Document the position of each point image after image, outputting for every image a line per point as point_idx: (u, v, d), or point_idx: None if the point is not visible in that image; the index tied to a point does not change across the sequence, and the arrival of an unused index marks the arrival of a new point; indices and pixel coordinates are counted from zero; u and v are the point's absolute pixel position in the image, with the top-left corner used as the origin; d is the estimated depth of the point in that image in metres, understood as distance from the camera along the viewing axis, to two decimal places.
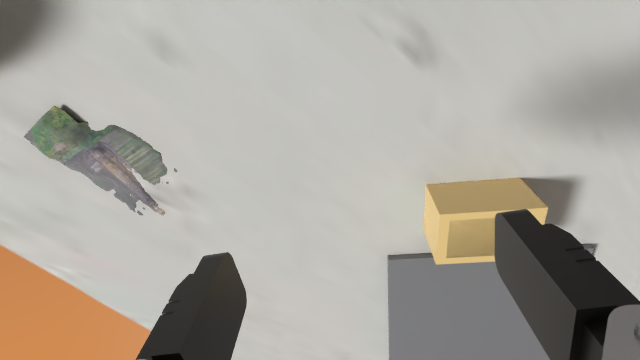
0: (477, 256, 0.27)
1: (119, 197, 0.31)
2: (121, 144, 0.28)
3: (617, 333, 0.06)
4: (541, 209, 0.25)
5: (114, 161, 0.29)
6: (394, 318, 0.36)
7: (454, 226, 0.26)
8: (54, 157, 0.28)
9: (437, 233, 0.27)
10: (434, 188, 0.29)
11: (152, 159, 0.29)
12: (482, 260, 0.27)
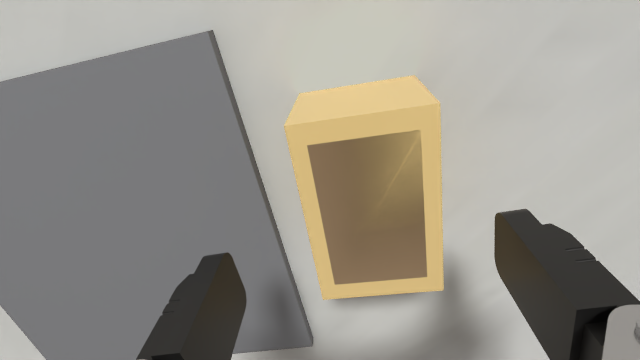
0: (320, 207, 0.12)
1: None
2: None
3: (617, 333, 0.06)
4: (440, 281, 0.14)
5: None
6: (36, 87, 0.15)
7: (401, 144, 0.11)
8: None
9: (376, 110, 0.11)
10: None
11: None
12: (309, 218, 0.13)
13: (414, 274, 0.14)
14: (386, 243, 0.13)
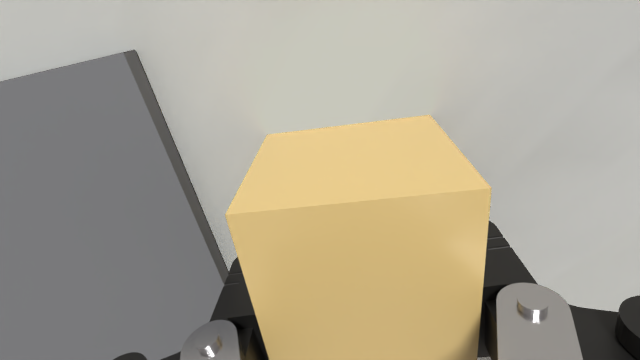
0: (289, 329, 0.08)
1: None
2: None
3: (501, 306, 0.07)
4: None
5: None
6: None
7: (422, 248, 0.07)
8: None
9: (381, 193, 0.06)
10: None
11: None
12: (272, 344, 0.08)
13: None
14: None
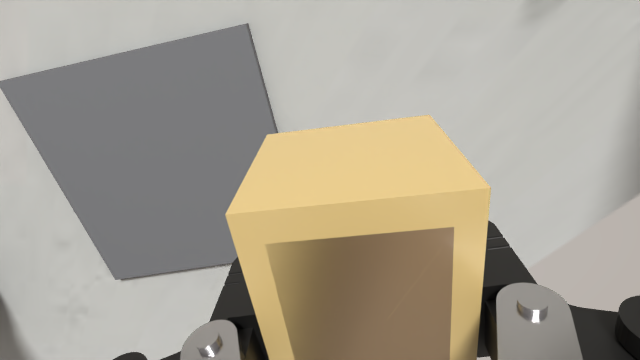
0: (289, 328, 0.08)
1: None
2: None
3: (501, 306, 0.07)
4: None
5: None
6: (133, 59, 0.23)
7: (421, 247, 0.07)
8: None
9: (381, 193, 0.06)
10: None
11: None
12: (272, 343, 0.08)
13: None
14: None
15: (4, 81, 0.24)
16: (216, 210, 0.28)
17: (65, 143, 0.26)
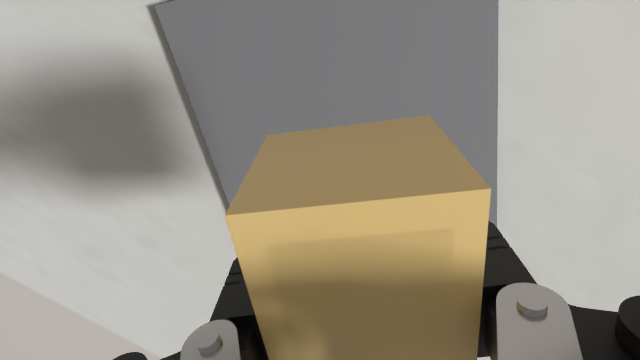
0: (288, 329, 0.08)
1: None
2: None
3: (501, 306, 0.07)
4: None
5: None
6: (488, 119, 0.21)
7: (421, 248, 0.07)
8: None
9: (381, 194, 0.06)
10: None
11: None
12: (272, 344, 0.08)
13: None
14: None
15: None
16: None
17: None
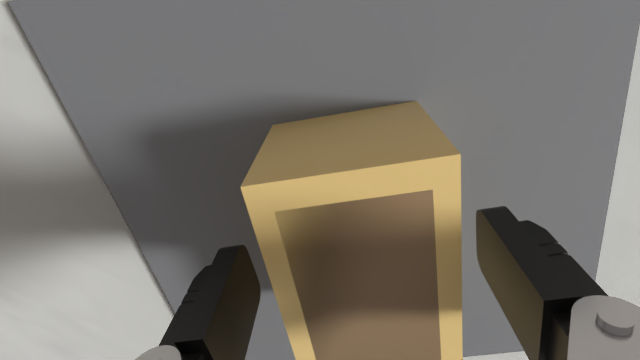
0: (297, 287, 0.09)
1: None
2: None
3: (578, 322, 0.06)
4: None
5: None
6: (594, 195, 0.13)
7: (406, 208, 0.08)
8: None
9: (370, 163, 0.08)
10: None
11: None
12: (283, 302, 0.09)
13: None
14: (387, 329, 0.10)
15: None
16: None
17: None
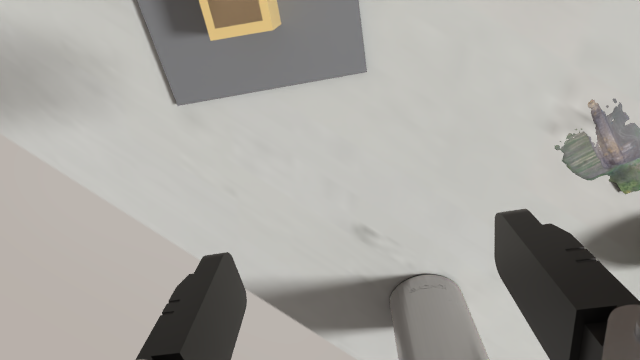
0: None
1: (625, 117, 0.33)
2: (591, 167, 0.35)
3: (617, 333, 0.06)
4: (270, 23, 0.26)
5: (607, 152, 0.35)
6: None
7: None
8: None
9: None
10: None
11: (572, 156, 0.35)
12: None
13: (256, 19, 0.25)
14: None
15: None
16: None
17: None
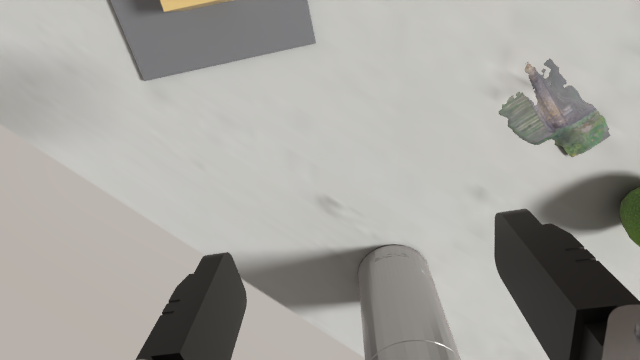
0: None
1: (561, 80, 0.35)
2: (536, 131, 0.37)
3: (617, 333, 0.06)
4: None
5: (549, 116, 0.37)
6: None
7: None
8: (597, 117, 0.36)
9: None
10: None
11: (516, 121, 0.37)
12: None
13: None
14: None
15: None
16: None
17: None
